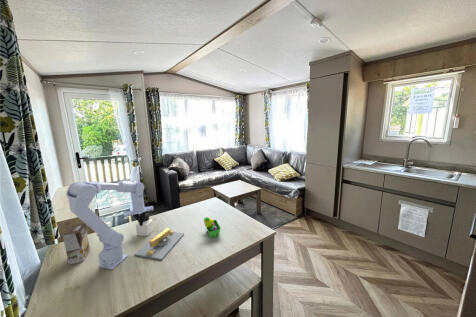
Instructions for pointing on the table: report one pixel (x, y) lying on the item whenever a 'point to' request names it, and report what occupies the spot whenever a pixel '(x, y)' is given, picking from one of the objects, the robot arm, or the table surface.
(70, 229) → the coffee box
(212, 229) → the fruit basket
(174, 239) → the base
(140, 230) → the medicine bottle
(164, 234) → the long golden bar
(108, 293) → the table surface
